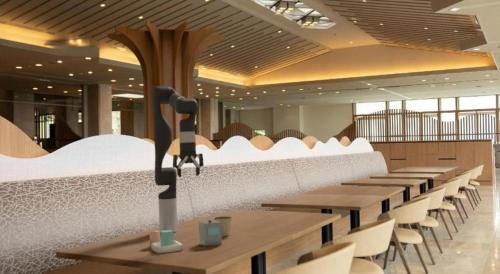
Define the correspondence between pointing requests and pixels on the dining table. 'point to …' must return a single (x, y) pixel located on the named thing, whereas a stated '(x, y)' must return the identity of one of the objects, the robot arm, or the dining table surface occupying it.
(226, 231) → the flower pot
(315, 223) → the dining table surface
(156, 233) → the peach capsule
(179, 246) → the tray
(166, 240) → the teal block
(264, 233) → the dining table surface
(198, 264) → the dining table surface
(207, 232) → the box
